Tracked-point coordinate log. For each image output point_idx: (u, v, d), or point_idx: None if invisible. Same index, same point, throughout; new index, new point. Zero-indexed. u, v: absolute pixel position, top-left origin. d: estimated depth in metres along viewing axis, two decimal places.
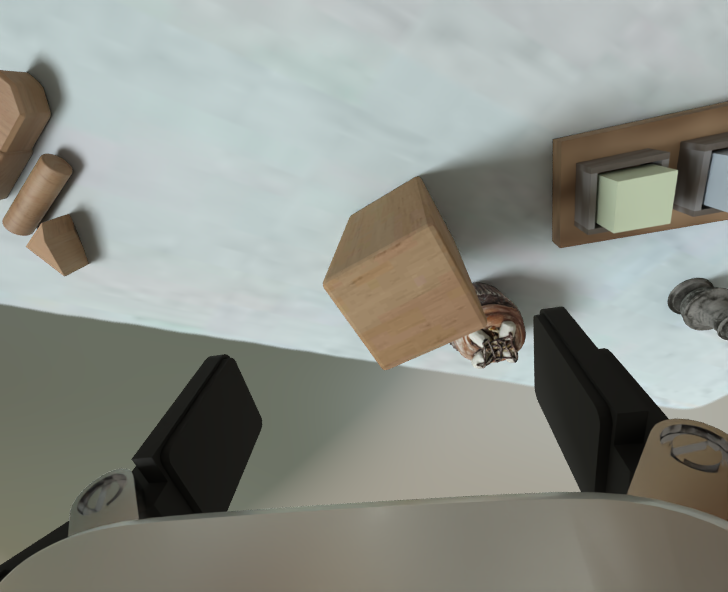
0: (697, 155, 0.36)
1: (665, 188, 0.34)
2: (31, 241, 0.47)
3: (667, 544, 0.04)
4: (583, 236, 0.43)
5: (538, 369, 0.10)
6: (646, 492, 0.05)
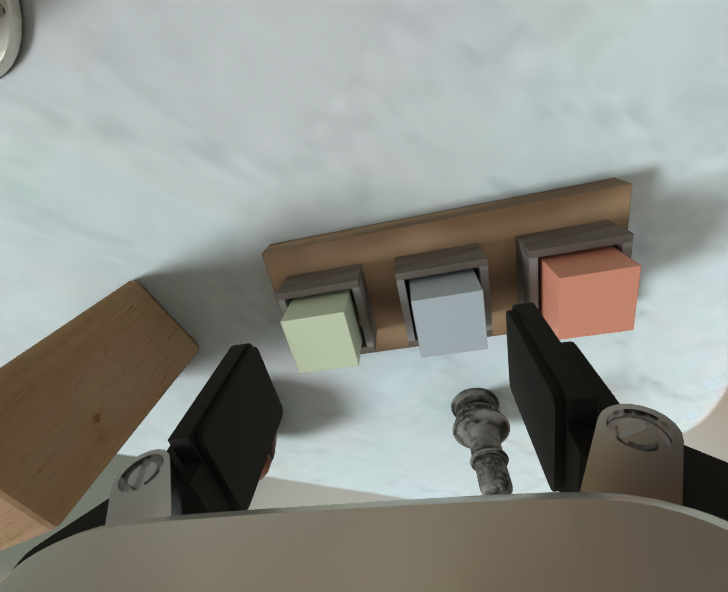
0: None
1: (337, 330, 0.28)
2: None
3: (667, 544, 0.04)
4: None
5: (511, 362, 0.11)
6: (598, 477, 0.06)
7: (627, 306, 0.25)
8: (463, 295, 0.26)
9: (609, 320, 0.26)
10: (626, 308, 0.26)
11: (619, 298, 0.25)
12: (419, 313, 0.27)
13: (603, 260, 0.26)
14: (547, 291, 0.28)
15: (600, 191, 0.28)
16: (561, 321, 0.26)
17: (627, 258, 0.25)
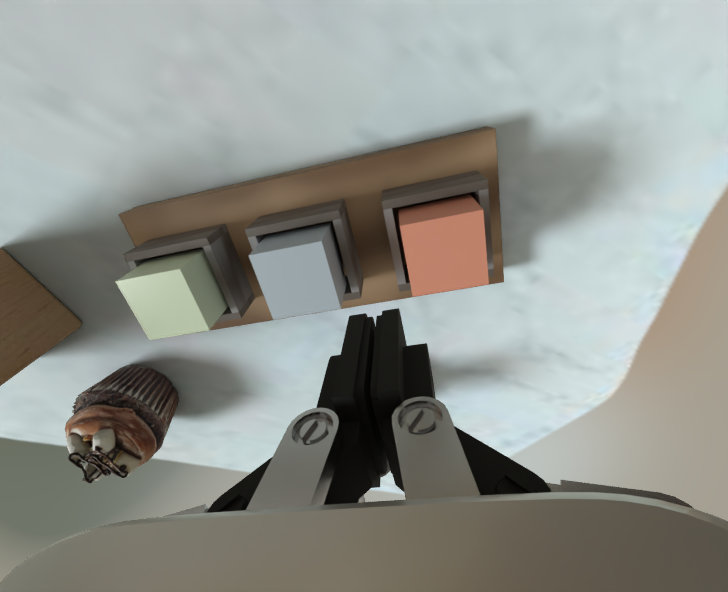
0: None
1: (178, 290, 0.26)
2: None
3: (668, 543, 0.04)
4: None
5: None
6: (412, 472, 0.07)
7: (477, 257, 0.23)
8: (302, 246, 0.24)
9: (461, 273, 0.24)
10: (477, 259, 0.23)
11: (467, 248, 0.23)
12: (259, 268, 0.25)
13: (452, 208, 0.24)
14: None
15: (463, 137, 0.26)
16: (411, 275, 0.24)
17: (476, 204, 0.23)
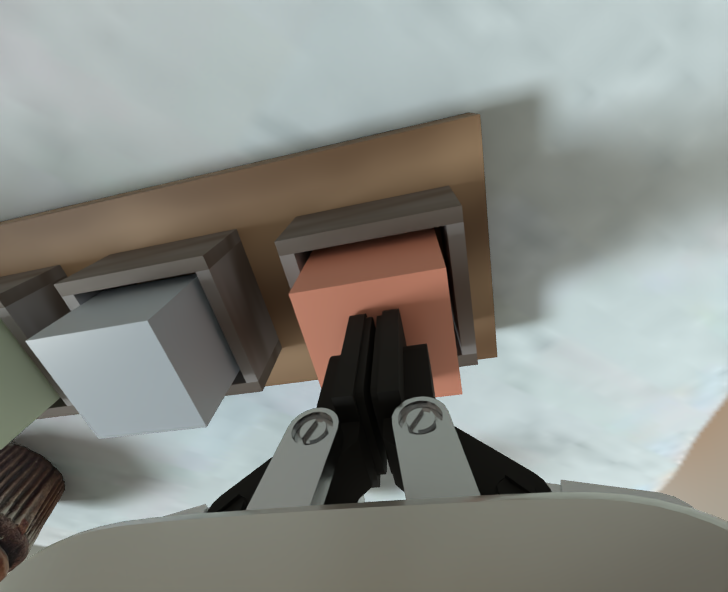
0: None
1: None
2: None
3: (667, 544, 0.04)
4: None
5: None
6: (412, 472, 0.07)
7: (439, 349, 0.12)
8: (115, 329, 0.13)
9: None
10: (438, 354, 0.13)
11: (419, 335, 0.12)
12: (51, 363, 0.14)
13: (394, 256, 0.13)
14: None
15: (424, 130, 0.15)
16: (322, 376, 0.13)
17: (436, 252, 0.12)
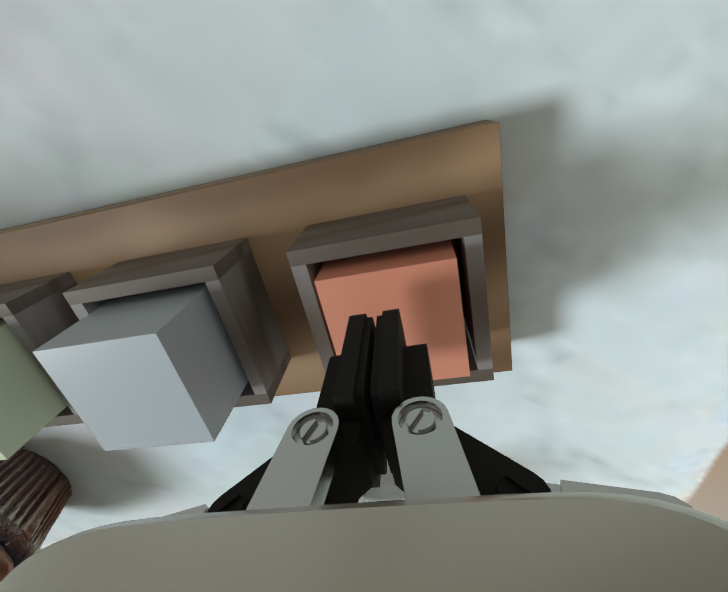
0: None
1: None
2: None
3: (668, 543, 0.04)
4: None
5: None
6: (412, 472, 0.07)
7: (449, 334, 0.14)
8: (123, 341, 0.12)
9: None
10: (449, 338, 0.14)
11: (431, 320, 0.14)
12: (58, 374, 0.13)
13: (409, 249, 0.14)
14: None
15: (441, 138, 0.15)
16: None
17: (447, 245, 0.14)
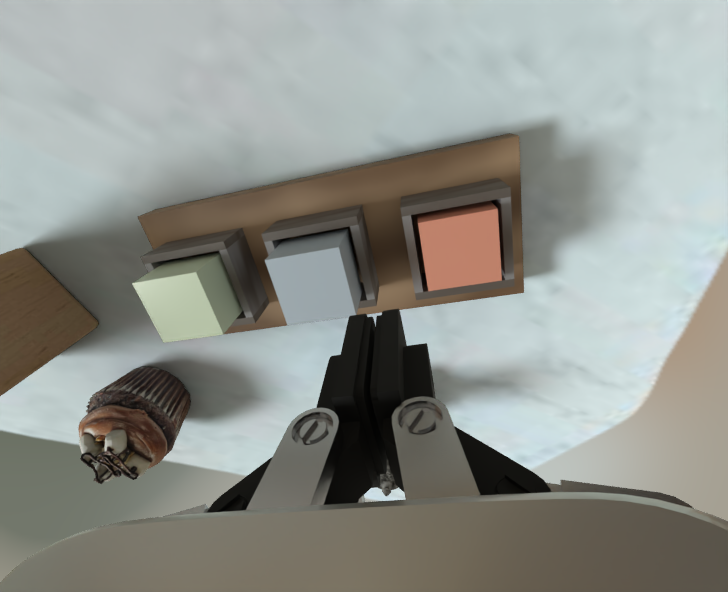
0: None
1: (193, 293, 0.26)
2: None
3: (667, 543, 0.04)
4: None
5: None
6: (412, 472, 0.07)
7: (491, 253, 0.25)
8: (319, 252, 0.23)
9: (476, 270, 0.25)
10: (490, 256, 0.25)
11: (481, 246, 0.24)
12: (275, 274, 0.24)
13: (468, 207, 0.25)
14: None
15: (485, 144, 0.26)
16: (427, 270, 0.26)
17: (490, 204, 0.24)
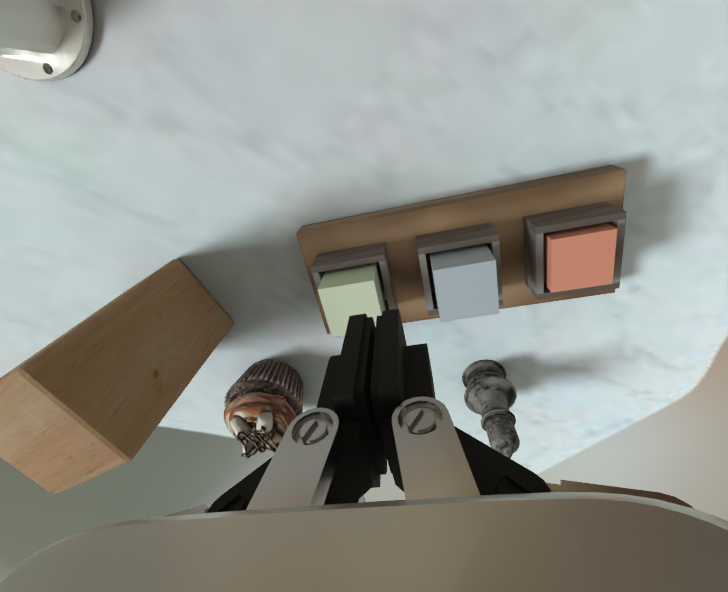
0: None
1: (367, 297, 0.32)
2: None
3: (668, 544, 0.04)
4: None
5: None
6: (411, 472, 0.07)
7: (607, 263, 0.31)
8: (479, 264, 0.30)
9: (592, 275, 0.32)
10: (606, 265, 0.31)
11: (600, 257, 0.31)
12: (439, 281, 0.31)
13: (587, 226, 0.32)
14: None
15: (598, 176, 0.32)
16: (553, 276, 0.32)
17: (607, 224, 0.31)
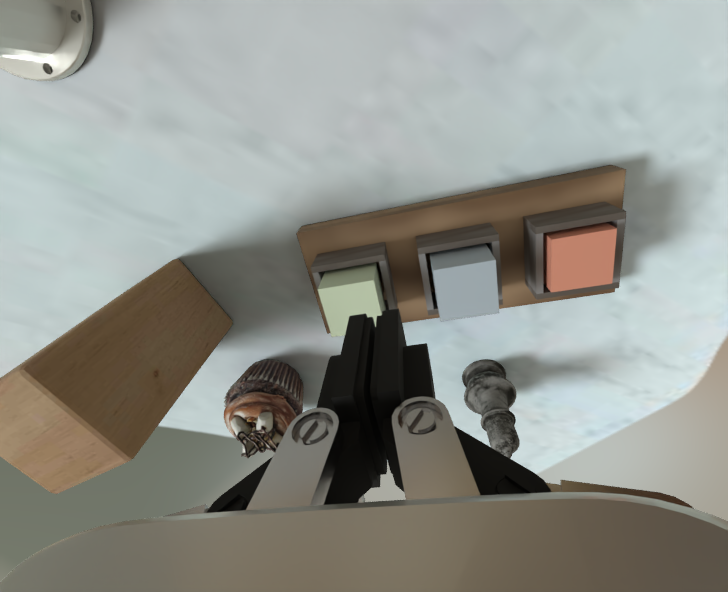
0: None
1: (367, 297, 0.32)
2: None
3: (667, 543, 0.04)
4: None
5: None
6: (411, 472, 0.07)
7: (606, 262, 0.31)
8: (479, 264, 0.30)
9: (592, 275, 0.32)
10: (606, 265, 0.31)
11: (600, 256, 0.31)
12: (439, 280, 0.31)
13: (587, 226, 0.32)
14: None
15: (598, 175, 0.32)
16: (553, 276, 0.32)
17: (606, 224, 0.31)
